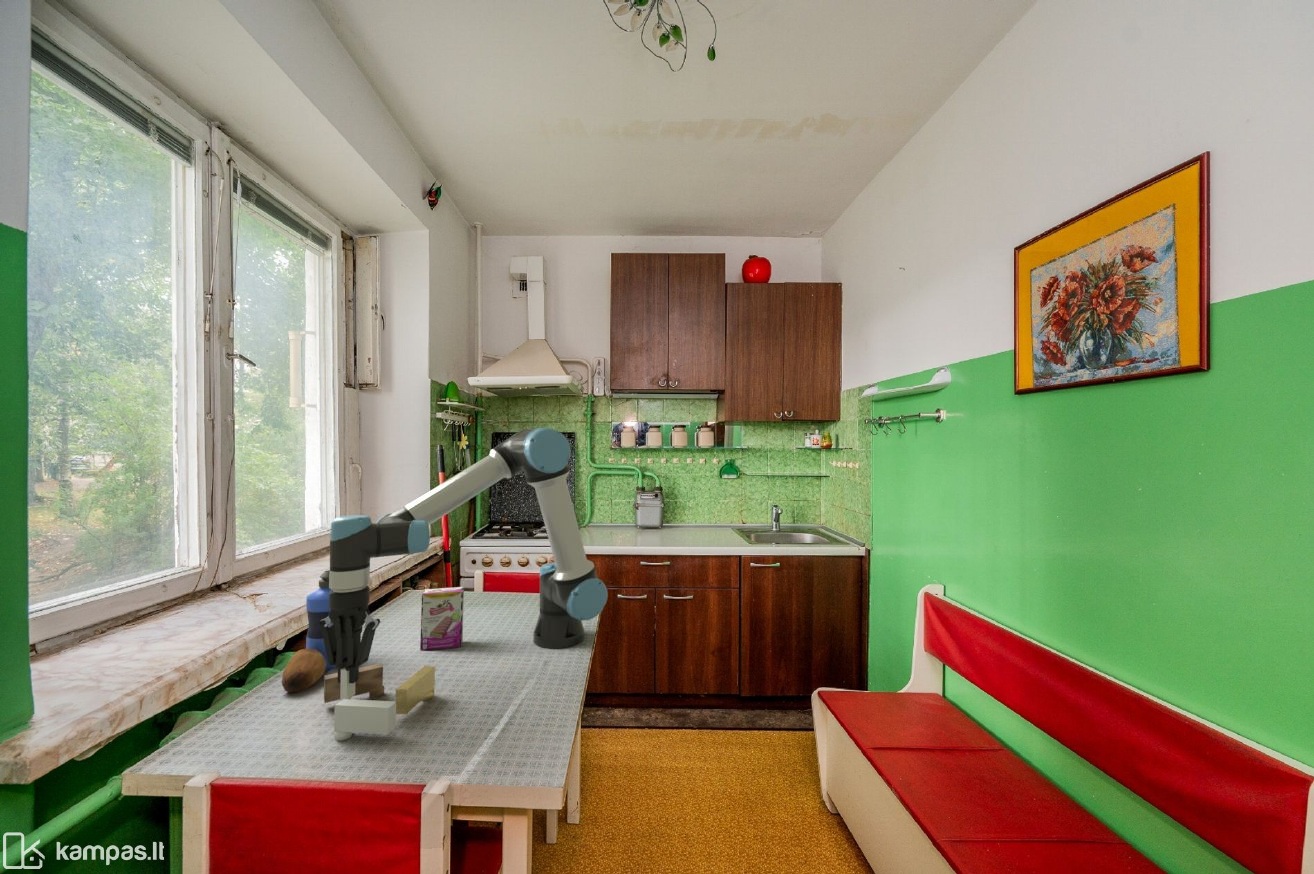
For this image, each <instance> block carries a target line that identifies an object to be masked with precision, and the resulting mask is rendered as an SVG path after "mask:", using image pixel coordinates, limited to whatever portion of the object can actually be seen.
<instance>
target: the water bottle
mask: <svg viewBox="0 0 1314 874" xmlns="http://www.w3.org/2000/svg"><path fill="white" fill-rule="evenodd" d="M329 573H330V569H329V570H325V571H323V573H322V574H321V575H319V578H320V579H319V580H318V587H319V588H318V589H317V590H315V591H314V592H311V593H310V594H308V595H307V596H306V602H305V603H306V607H305V609H306V610H305V611H306V613H307V620H308V628H307V632H306V637H305V638H306V641H305V642H306V645H305V648H308V649H316V650H317V651H319V652H320V653H321V654H322V655H323V657H324V659H325V661H326V668H325V672H324V673H323V675H326V674H327V673H328V672H329V671H331V670H333V669H335V668H337V667H336V666H334V665H329V663H328V659H327V654H326V649H325V644H324V640H323V635H322V631H321V629H320V628H319V626H318V622H319V621H320V620H323V619H325V618H326V617H328V616H329V612H330V610H331V609H330V608H329V592H330V591H331V590H332V589H330V588H329Z"/></svg>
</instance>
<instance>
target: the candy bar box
mask: <svg viewBox="0 0 1314 874" xmlns="http://www.w3.org/2000/svg"><path fill="white" fill-rule="evenodd" d="M464 598H465V587H464V586H457V587H456V586H455V587H442V588H425V589H423V591H422V593H421V611H420V613H421V614H420V619H421V620H420V644H419V647H420V649H419V650H420V652H424V651H425V652H426V651H434V650H435V651H436V650H443V649H444V650H445V649H452V648H455V649H456V648H461V647H462V644H463V641H464V639H463V637H464V601H465V600H464Z"/></svg>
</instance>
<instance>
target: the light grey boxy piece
mask: <svg viewBox="0 0 1314 874" xmlns="http://www.w3.org/2000/svg"><path fill="white" fill-rule="evenodd" d="M333 719H334V721H333V722H334V726H333V727H334V729H333V731H334V732H333V733H334V737H333V739H334V741H336V742H341V741H346V740H348V739H349V738H351V737H352V736H353V733H357V734H358V733H359V734H375V735H376V734H377V735H389V734H390V733H391V732H393V731H394V730H395V729H396V728H397V714H396V702H395V701H392V700H391V701H390V700H389V701H387V700H371V699H353V698H352V699H351V698H350V699H343V700H340V701H338V702H337V703H335V704H334V718H333Z"/></svg>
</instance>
